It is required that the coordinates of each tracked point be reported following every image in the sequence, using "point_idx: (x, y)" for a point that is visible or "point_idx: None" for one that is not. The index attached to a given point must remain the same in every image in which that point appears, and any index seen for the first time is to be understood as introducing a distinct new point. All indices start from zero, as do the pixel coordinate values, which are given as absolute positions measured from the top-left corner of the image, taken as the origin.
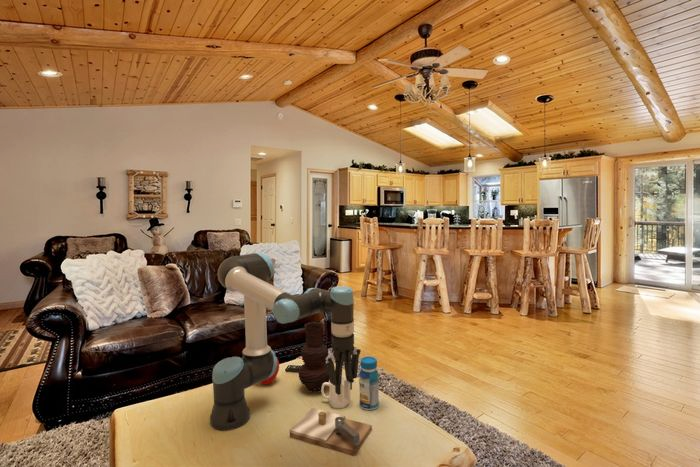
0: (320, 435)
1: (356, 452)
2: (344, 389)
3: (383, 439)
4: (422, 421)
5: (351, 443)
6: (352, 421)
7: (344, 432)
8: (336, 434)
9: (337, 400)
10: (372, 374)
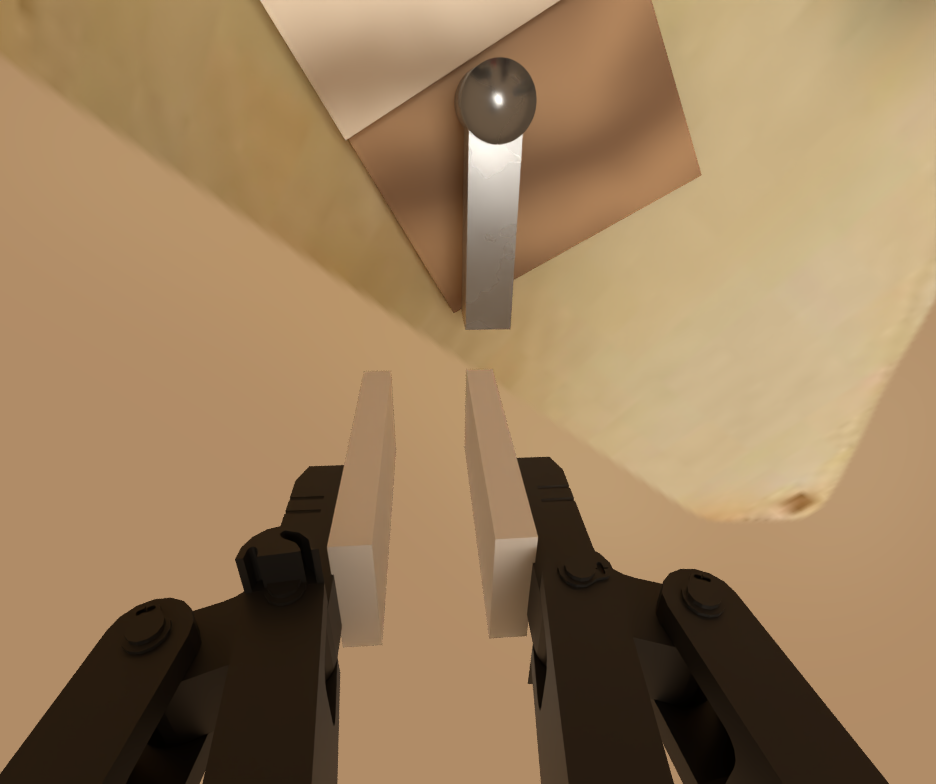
0: (335, 61)
1: None
2: (477, 441)
3: (657, 291)
4: (924, 297)
5: None
6: (646, 37)
7: (465, 215)
8: None
9: (363, 379)
10: None
